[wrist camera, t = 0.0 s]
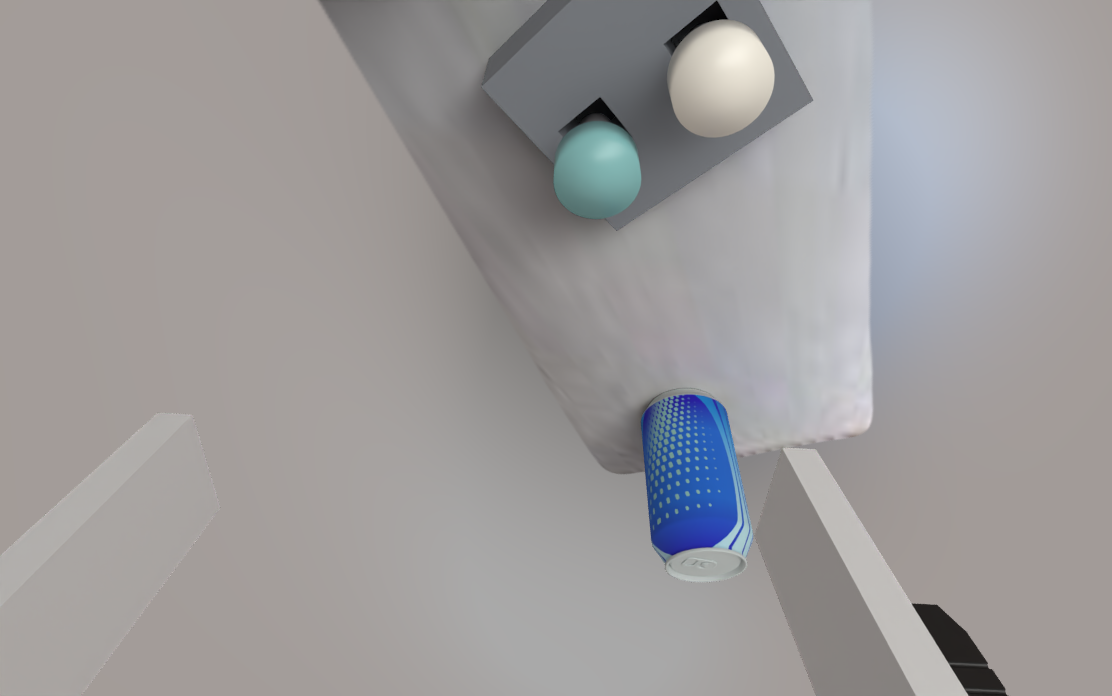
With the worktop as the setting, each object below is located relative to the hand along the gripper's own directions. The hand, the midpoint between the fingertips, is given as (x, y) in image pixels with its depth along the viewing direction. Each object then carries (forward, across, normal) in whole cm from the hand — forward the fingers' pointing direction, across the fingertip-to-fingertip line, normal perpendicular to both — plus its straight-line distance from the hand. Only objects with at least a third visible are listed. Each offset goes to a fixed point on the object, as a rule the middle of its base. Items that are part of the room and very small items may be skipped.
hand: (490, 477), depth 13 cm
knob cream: (+22, +8, +9) cm, 25 cm away
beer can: (+37, +15, -23) cm, 46 cm away
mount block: (+27, +6, +8) cm, 28 cm away
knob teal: (+24, +3, +4) cm, 24 cm away
